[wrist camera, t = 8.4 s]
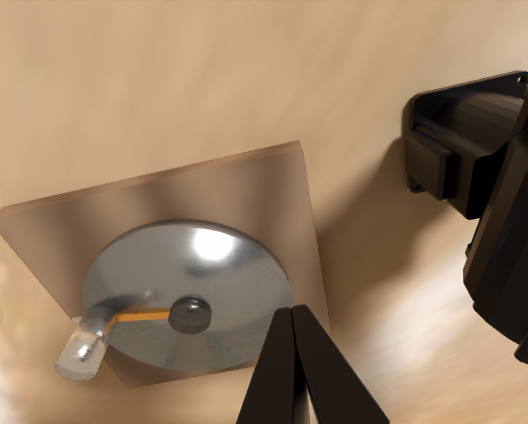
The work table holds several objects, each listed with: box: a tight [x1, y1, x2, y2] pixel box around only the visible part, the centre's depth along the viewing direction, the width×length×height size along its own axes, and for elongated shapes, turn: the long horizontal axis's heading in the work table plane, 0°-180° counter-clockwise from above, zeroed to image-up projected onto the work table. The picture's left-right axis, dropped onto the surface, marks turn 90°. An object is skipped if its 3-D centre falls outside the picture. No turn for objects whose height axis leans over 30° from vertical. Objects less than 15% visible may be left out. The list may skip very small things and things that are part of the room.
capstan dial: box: [55, 219, 293, 381], centre depth 21 cm, size 15×15×5 cm
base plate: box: [0, 140, 333, 389], centre depth 24 cm, size 20×20×2 cm
